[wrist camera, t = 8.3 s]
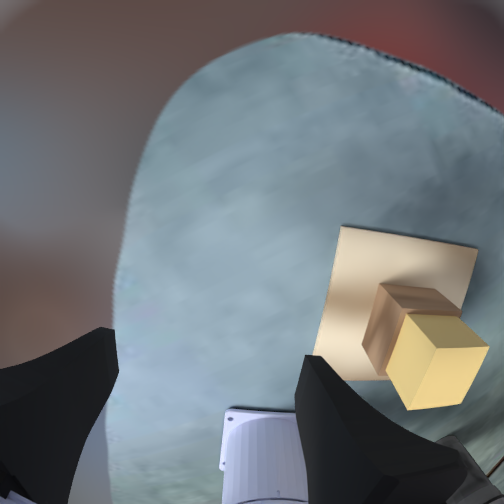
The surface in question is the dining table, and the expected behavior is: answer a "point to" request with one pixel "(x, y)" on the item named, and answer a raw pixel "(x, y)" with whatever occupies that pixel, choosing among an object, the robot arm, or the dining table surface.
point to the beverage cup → (472, 480)
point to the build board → (366, 284)
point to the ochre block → (435, 360)
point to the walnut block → (399, 318)
